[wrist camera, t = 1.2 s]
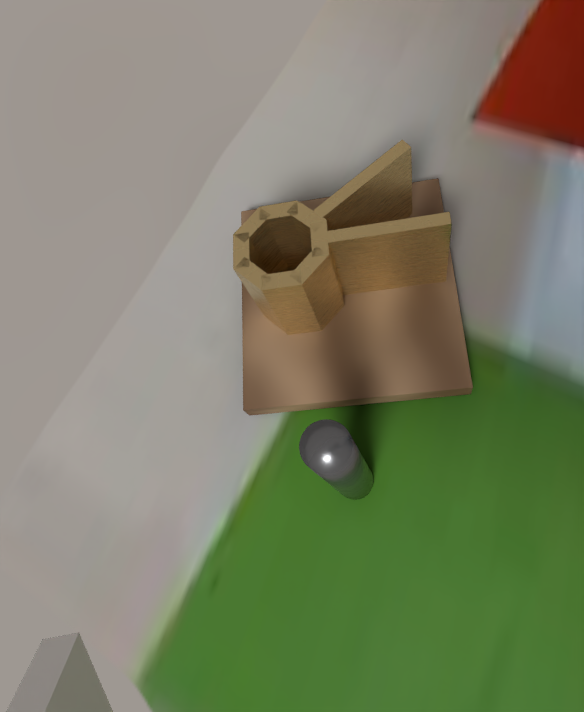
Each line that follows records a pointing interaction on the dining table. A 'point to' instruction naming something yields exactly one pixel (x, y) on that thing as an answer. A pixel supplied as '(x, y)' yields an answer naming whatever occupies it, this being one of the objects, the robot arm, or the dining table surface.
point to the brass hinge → (340, 247)
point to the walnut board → (361, 344)
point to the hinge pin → (336, 458)
